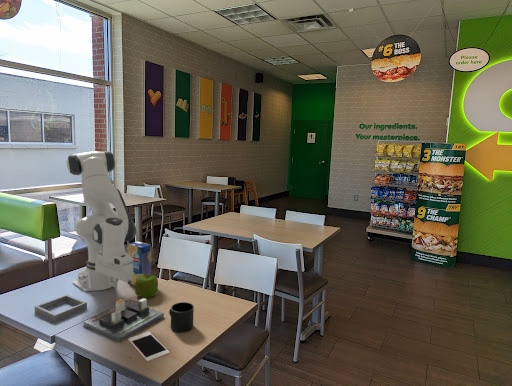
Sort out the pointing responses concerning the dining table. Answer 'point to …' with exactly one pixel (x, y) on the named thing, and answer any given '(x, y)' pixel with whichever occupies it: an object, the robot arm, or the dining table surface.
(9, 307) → the dining table surface
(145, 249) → the beverage box
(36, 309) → the deck corral
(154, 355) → the cell phone
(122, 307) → the block
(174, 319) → the mug
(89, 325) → the panel
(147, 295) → the apple
